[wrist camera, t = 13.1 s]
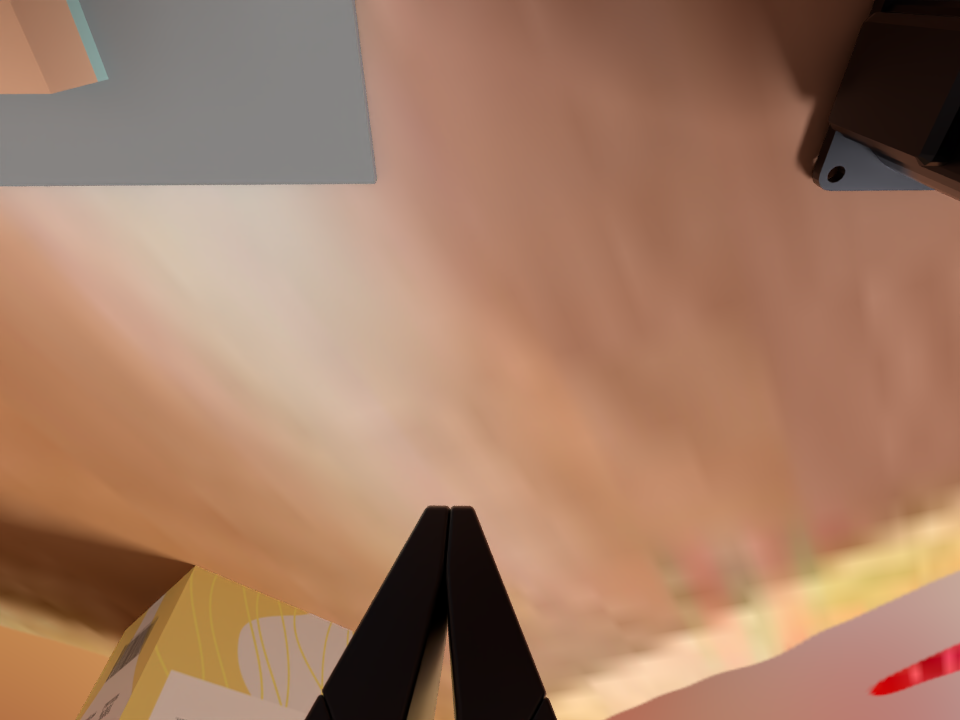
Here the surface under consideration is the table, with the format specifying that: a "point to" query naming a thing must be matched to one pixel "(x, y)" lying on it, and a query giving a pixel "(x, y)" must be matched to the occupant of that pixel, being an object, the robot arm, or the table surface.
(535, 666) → the robot arm
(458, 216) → the table surface
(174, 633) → the pasta box
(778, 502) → the table surface
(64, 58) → the tile
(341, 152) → the mat
